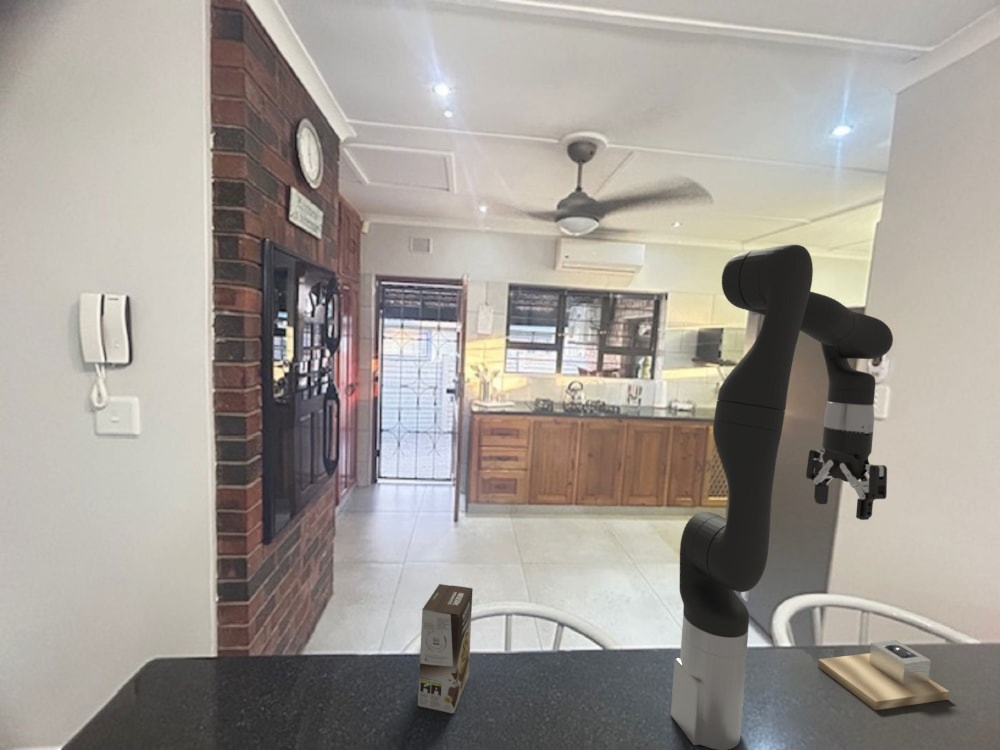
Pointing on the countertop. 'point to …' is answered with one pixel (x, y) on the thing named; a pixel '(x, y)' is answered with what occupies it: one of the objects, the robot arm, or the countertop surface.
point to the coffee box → (445, 647)
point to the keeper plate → (879, 682)
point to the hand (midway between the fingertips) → (841, 511)
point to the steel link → (900, 663)
